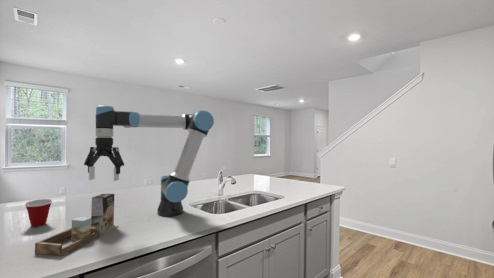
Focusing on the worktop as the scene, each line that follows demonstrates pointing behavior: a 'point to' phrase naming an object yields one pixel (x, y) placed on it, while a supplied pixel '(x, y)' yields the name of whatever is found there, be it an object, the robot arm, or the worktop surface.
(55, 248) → the walnut rack
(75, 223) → the offcut block top
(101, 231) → the cork trivet
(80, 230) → the offcut block middle
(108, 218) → the coffee box
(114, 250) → the worktop surface
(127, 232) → the worktop surface
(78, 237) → the offcut block bottom
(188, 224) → the worktop surface
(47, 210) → the plastic cup
